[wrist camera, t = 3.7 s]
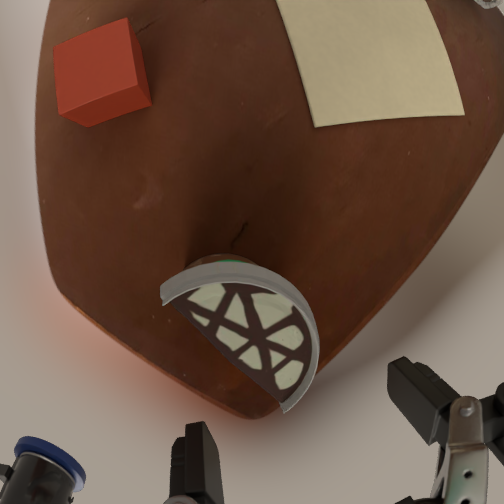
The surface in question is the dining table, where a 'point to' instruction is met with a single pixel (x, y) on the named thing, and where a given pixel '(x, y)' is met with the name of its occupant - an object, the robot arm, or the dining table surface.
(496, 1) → the mug
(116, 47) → the red block
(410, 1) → the linen cloth
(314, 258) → the dining table surface
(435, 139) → the dining table surface
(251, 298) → the food container
